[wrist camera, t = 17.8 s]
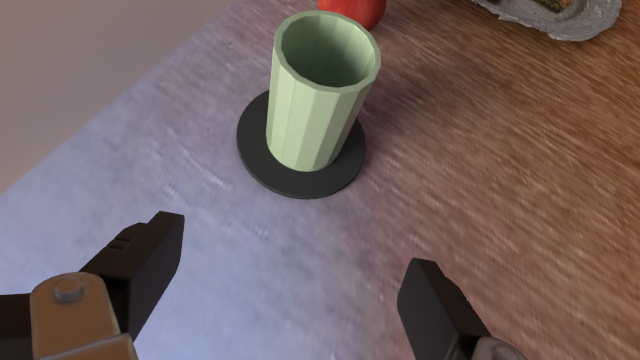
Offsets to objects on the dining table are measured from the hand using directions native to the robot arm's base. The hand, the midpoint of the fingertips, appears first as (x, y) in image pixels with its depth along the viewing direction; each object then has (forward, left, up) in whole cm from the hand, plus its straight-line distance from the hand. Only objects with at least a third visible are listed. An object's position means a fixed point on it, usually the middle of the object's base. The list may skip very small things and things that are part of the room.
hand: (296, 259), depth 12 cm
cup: (+9, +7, -10) cm, 15 cm away
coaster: (+9, +7, -11) cm, 16 cm away
